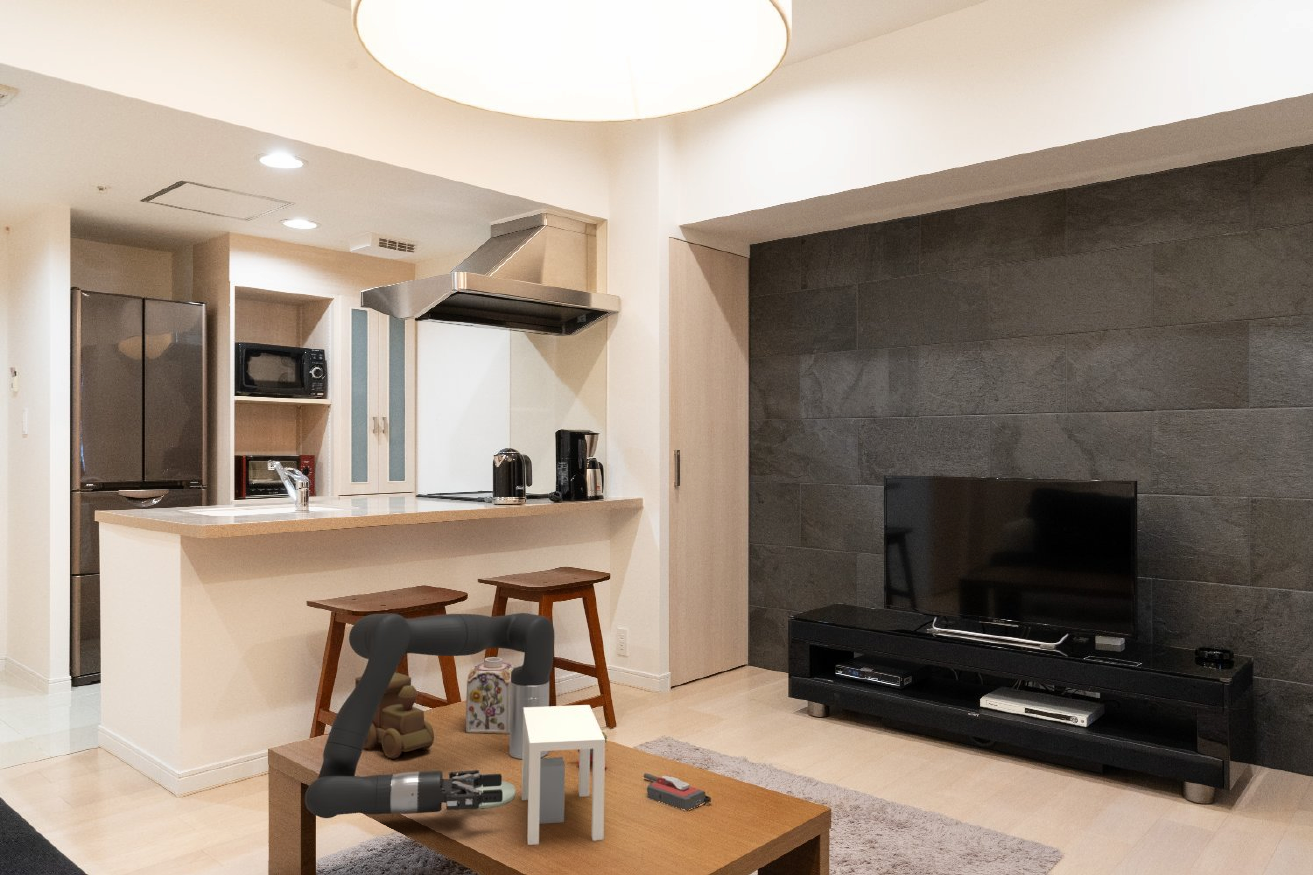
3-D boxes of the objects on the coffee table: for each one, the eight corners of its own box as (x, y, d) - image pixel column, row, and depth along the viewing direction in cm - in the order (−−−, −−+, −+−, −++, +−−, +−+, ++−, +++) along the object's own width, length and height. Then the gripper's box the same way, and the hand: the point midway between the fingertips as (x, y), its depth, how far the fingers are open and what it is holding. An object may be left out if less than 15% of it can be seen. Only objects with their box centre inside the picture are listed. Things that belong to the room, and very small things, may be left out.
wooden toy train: (350, 745, 221) (351, 677, 221) (390, 734, 230) (391, 669, 230) (398, 764, 208) (399, 691, 209) (438, 752, 217) (440, 682, 217)
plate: (477, 779, 199) (477, 774, 199) (528, 791, 192) (528, 786, 192) (433, 800, 186) (433, 795, 187) (486, 813, 180) (486, 808, 180)
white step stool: (527, 844, 166) (529, 742, 166) (521, 796, 189) (523, 707, 190) (603, 839, 168) (605, 739, 169) (588, 792, 192) (589, 704, 192)
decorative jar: (475, 720, 244) (476, 653, 244) (518, 721, 243) (519, 654, 244) (464, 733, 232) (465, 663, 232) (509, 734, 231) (510, 664, 232)
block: (536, 813, 180) (537, 758, 181) (561, 812, 181) (562, 756, 182) (538, 823, 175) (539, 766, 176) (563, 821, 176) (564, 765, 177)
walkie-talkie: (718, 803, 188) (647, 779, 201) (718, 782, 188) (647, 759, 201) (691, 815, 181) (619, 789, 195) (691, 793, 182) (620, 769, 195)
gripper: (414, 785, 167) (503, 780, 170) (419, 760, 181) (501, 756, 184) (413, 826, 167) (502, 820, 170) (418, 797, 180) (501, 793, 184)
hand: (502, 787), depth 177 cm, fingers open, 8 cm apart
